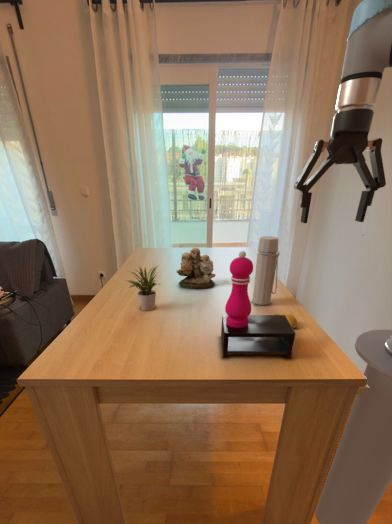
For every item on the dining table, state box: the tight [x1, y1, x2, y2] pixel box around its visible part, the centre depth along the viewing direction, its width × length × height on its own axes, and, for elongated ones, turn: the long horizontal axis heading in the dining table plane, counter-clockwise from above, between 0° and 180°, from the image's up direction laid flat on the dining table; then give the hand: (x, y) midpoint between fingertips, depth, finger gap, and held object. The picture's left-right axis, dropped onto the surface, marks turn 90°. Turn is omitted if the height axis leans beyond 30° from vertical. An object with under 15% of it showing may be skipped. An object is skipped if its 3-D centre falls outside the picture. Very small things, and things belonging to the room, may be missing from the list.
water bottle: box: [252, 235, 281, 306], centre depth 108 cm, size 9×8×25 cm
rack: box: [220, 314, 296, 360], centre depth 83 cm, size 19×12×8 cm, turn 88°
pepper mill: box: [224, 250, 254, 328], centre depth 76 cm, size 7×7×20 cm
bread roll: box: [274, 313, 298, 329], centre depth 97 cm, size 8×9×4 cm
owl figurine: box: [176, 247, 216, 290], centre depth 130 cm, size 18×12×17 cm, turn 95°
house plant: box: [124, 265, 162, 311], centre depth 108 cm, size 14×14×16 cm
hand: (331, 222), depth 70 cm, fingers open, 13 cm apart
